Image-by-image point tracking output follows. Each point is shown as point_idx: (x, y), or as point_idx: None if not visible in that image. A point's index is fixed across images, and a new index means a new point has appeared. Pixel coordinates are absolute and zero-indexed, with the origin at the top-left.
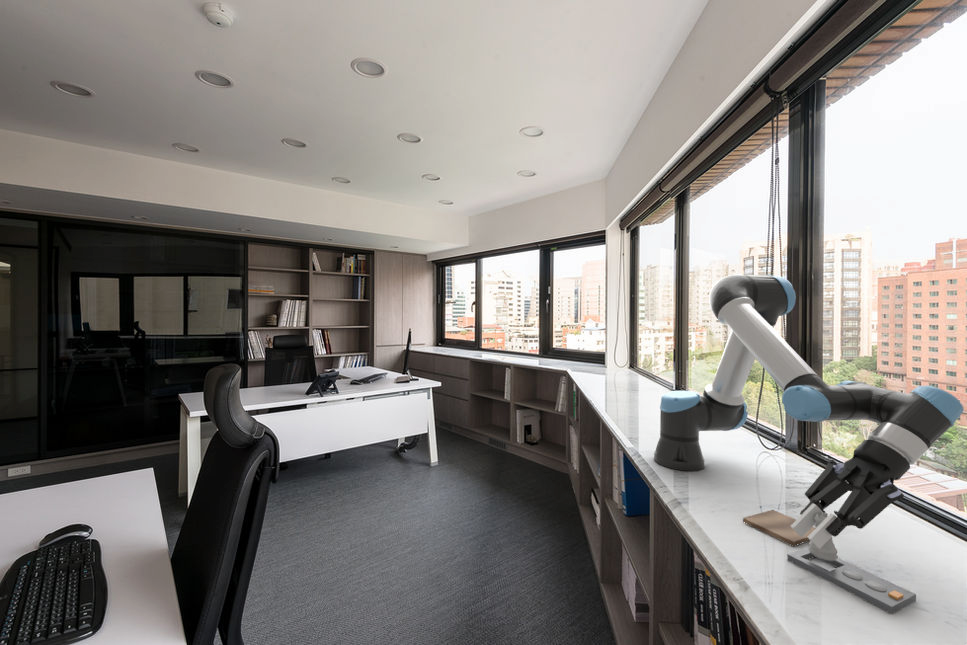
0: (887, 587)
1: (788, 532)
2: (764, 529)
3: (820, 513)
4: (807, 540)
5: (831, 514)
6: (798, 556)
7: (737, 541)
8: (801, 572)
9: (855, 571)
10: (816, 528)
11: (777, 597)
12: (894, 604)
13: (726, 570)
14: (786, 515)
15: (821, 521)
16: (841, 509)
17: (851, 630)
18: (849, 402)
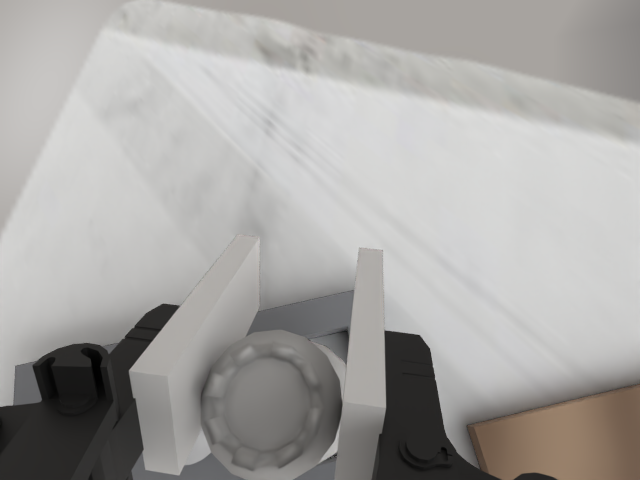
0: None
1: None
2: (611, 392)
3: (307, 412)
4: None
5: (157, 365)
6: (349, 318)
7: (516, 205)
8: (292, 275)
9: (202, 476)
10: (232, 270)
11: (211, 98)
12: (16, 390)
13: (348, 55)
14: None
15: (245, 338)
16: (63, 452)
17: (53, 172)
18: None
